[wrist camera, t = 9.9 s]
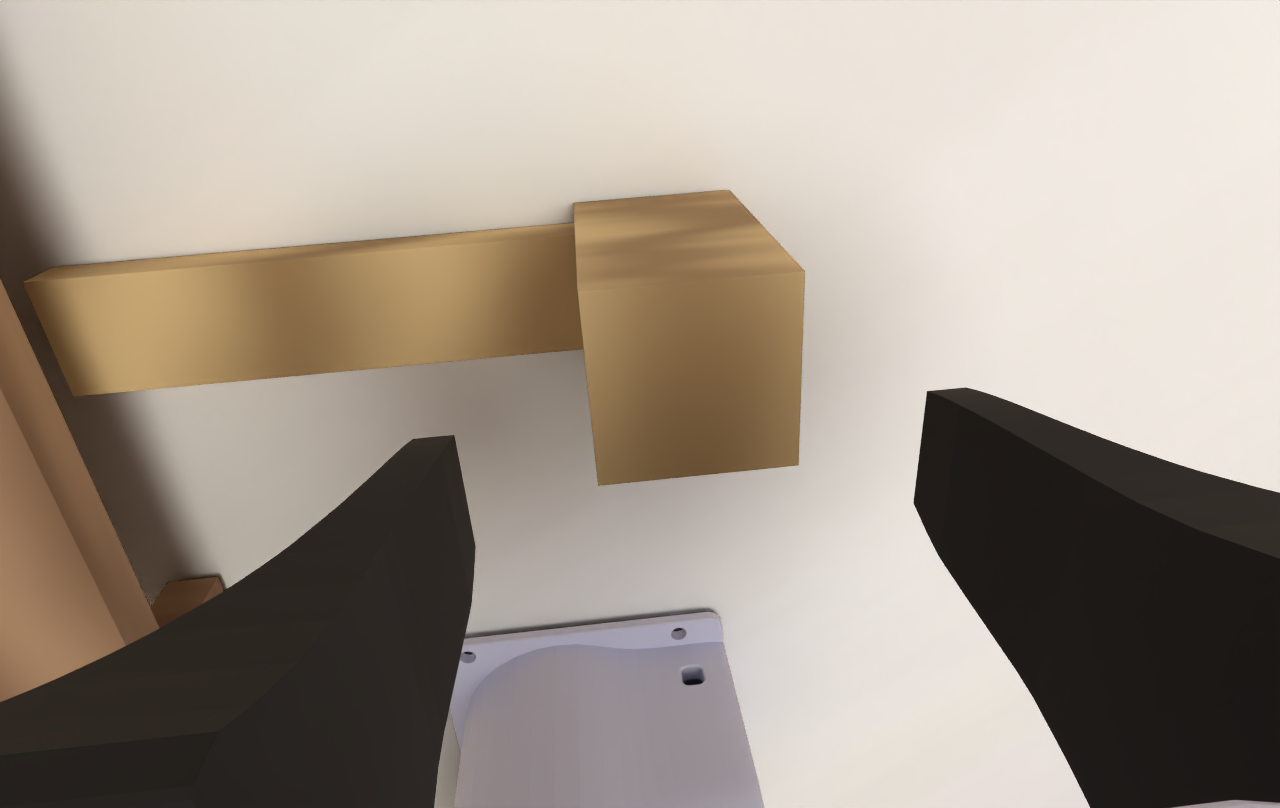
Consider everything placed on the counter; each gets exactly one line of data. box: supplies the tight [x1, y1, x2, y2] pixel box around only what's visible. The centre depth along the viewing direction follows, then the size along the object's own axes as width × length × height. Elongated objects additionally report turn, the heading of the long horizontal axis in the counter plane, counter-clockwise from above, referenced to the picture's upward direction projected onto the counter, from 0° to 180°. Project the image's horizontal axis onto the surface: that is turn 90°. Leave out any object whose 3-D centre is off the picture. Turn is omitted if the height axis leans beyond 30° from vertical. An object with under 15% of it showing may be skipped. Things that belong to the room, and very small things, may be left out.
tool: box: [23, 190, 805, 486], centre depth 17 cm, size 17×4×7 cm, turn 94°
